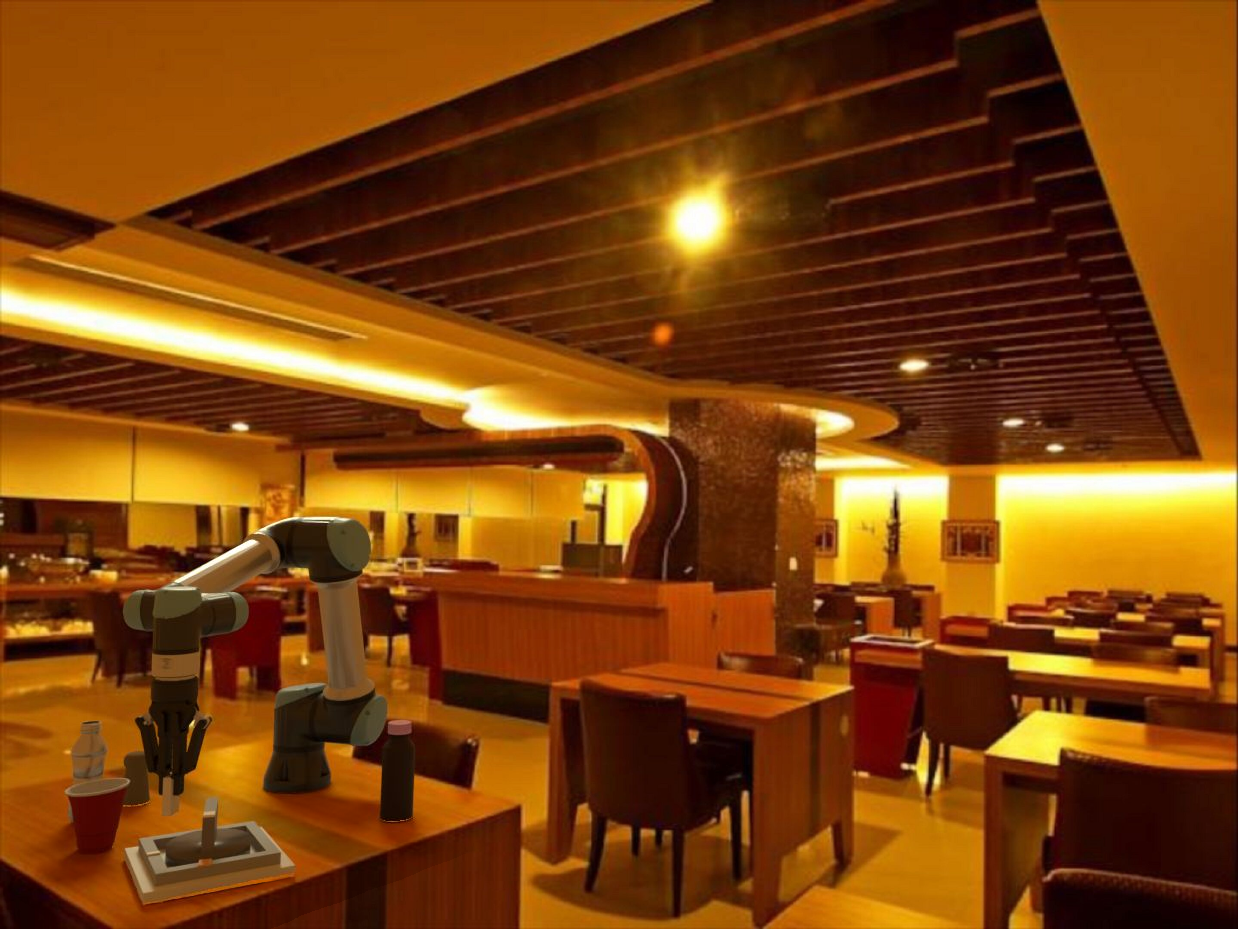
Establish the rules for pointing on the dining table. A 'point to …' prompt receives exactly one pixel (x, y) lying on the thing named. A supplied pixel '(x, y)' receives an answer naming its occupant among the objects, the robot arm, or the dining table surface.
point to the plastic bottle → (88, 755)
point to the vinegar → (397, 773)
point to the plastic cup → (97, 812)
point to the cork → (136, 778)
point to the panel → (203, 865)
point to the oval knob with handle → (207, 841)
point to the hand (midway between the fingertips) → (170, 813)
